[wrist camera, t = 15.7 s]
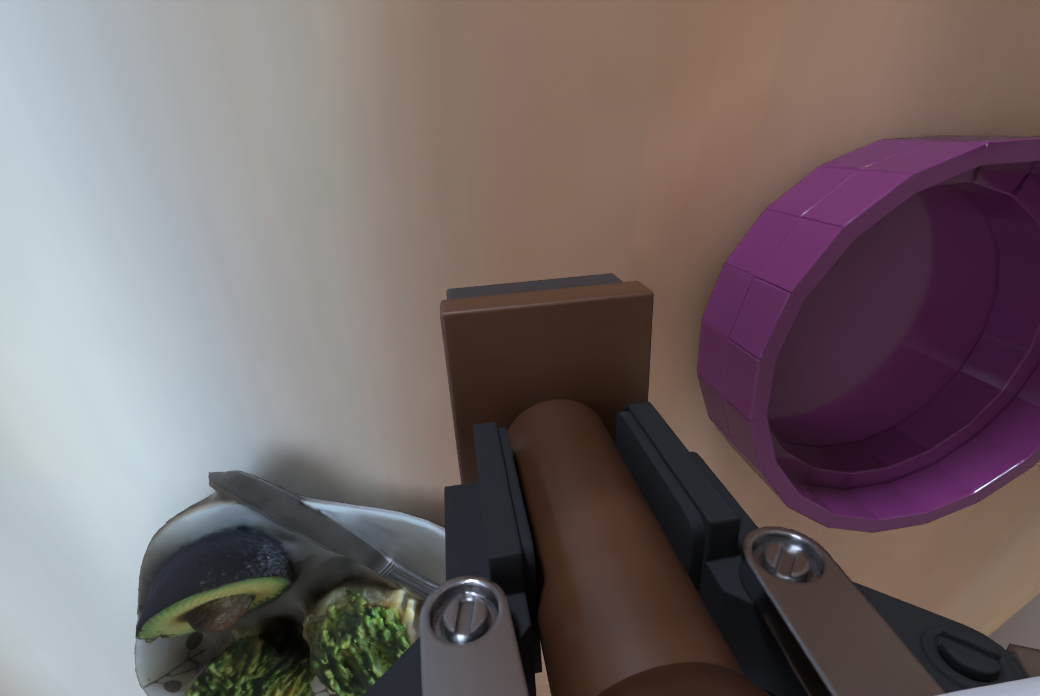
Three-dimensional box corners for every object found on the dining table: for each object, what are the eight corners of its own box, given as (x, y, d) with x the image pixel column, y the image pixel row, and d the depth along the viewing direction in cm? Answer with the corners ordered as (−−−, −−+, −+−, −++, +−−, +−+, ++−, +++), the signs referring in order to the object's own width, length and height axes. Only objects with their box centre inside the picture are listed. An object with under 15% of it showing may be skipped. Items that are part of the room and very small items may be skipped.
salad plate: (557, 502, 28) (578, 568, 24) (466, 712, 34) (470, 794, 30) (167, 432, 23) (106, 499, 19) (140, 692, 29) (89, 787, 25)
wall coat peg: (439, 281, 13) (442, 925, 2) (618, 264, 14) (1249, 734, 3) (467, 507, 16) (522, 1232, 5) (613, 485, 17) (920, 1109, 6)
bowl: (706, 150, 22) (788, 156, 17) (1065, 124, 23) (1234, 122, 18) (678, 482, 29) (729, 557, 24) (956, 442, 31) (1057, 503, 26)
